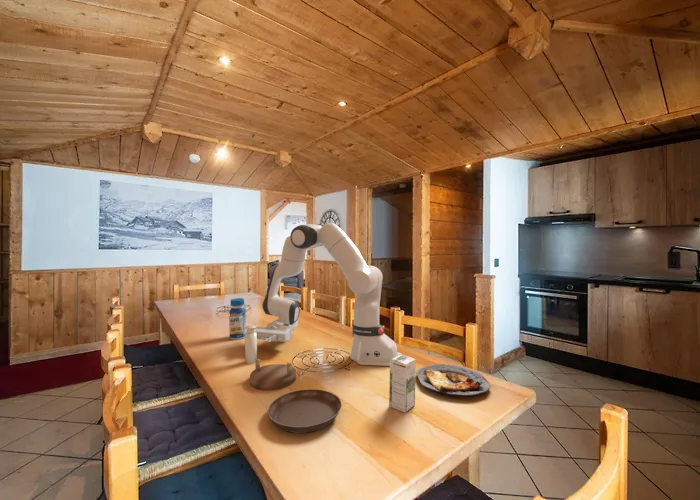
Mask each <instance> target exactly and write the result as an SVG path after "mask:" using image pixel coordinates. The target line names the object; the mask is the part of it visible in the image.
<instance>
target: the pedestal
mask: <svg viewBox="0 0 700 500" xmlns="http://www.w3.org/2000/svg"><path fill="white" fill-rule="evenodd" d="M254 364H255V366H254V367H255V369H254V370H252V372H250V375H249V385H250V386H251V387H252V388H254V389H255V390H261V391H274V390H279V389H280V390H281V389H285V388H286V387H289V386H291V385H292V384H294V383H295V381H296V379H297V370H296V368H295V367H294V366H292V363H291V362H288V363H286V364H282V363H281V364H280V363H275V364H266V365H263V366H261V359H260V358H257V359H256V360H255V363H254Z"/></svg>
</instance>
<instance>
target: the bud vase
mask: <svg viewBox="0 0 700 500" xmlns="http://www.w3.org/2000/svg"><path fill="white" fill-rule="evenodd" d="M256 327H257V326H256V325H253V324H252V325H246V331H247V332H246V333H245V338H244V340H245V341H244V345H245V346H244V351H245V353H244V354H245V355H244V356H245V364H247V365H252V364H255V360H256V359H258V339H257V332H255V328H256Z"/></svg>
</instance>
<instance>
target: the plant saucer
mask: <svg viewBox="0 0 700 500" xmlns="http://www.w3.org/2000/svg"><path fill="white" fill-rule="evenodd" d="M342 405H343V404H342V401H341V399H340V397H339V396H338V395H336V394H334V393H332V392H330V391H327V390H323V389H316V388H315V389H311V388H310V389H299V390H294V391H291V392H288V393H284V394H283V395H280V396H278V397H277V398H276V399H274V400H273V401H272V402H271V403H270V405H269V407H268V409H267V413H268V417H269V418H270V420H271V421H272V422H273V423H274V424H275V425H276V426H277V427H278V428H281V429H282V430H284V431H287V432H289V433H291V432H292V433H299V434H300V433H311V432H315V431H319V430H321V429H323V428H325V427H327V426H328V425H330V423H332V422H333V421H334V420H335V419H336V417H338V415H339V413H340V411H341V409H342V407H343V406H342Z"/></svg>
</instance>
